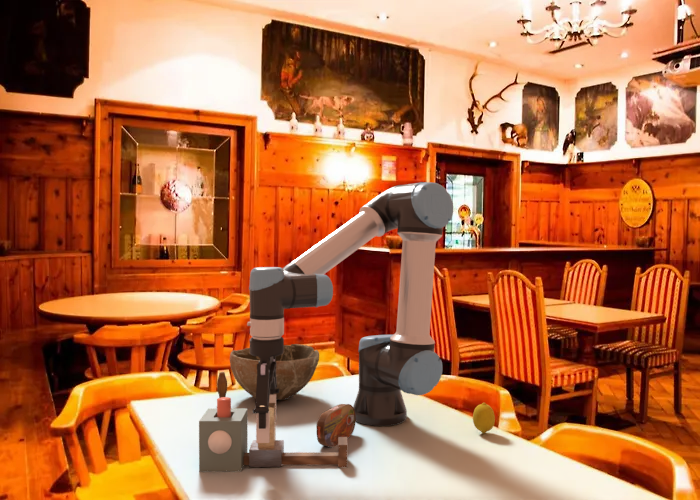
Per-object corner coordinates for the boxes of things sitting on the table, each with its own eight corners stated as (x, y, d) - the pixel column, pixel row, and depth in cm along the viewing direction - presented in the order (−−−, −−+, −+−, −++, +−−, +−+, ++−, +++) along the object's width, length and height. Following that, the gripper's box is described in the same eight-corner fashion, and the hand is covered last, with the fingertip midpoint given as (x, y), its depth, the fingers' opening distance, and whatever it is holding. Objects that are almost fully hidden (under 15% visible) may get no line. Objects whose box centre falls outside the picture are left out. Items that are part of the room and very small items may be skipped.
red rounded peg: (232, 432, 133) (232, 397, 133) (229, 436, 130) (229, 400, 130) (218, 432, 133) (218, 397, 133) (215, 436, 130) (215, 400, 130)
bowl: (329, 390, 193) (329, 344, 192) (305, 415, 166) (305, 362, 166) (250, 384, 199) (250, 340, 198) (215, 407, 173) (214, 357, 172)
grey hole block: (247, 455, 136) (247, 408, 136) (240, 472, 127) (240, 421, 126) (208, 455, 136) (208, 408, 136) (198, 472, 127) (198, 421, 126)
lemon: (496, 431, 153) (496, 401, 153) (492, 438, 148) (492, 407, 148) (475, 428, 155) (475, 398, 155) (470, 435, 150) (470, 404, 150)
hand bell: (231, 441, 146) (231, 377, 145) (200, 438, 147) (200, 375, 147) (244, 430, 154) (244, 369, 153) (214, 427, 155) (214, 367, 155)
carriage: (283, 456, 135) (283, 401, 134) (281, 467, 129) (281, 409, 128) (253, 456, 135) (253, 401, 134) (249, 467, 129) (249, 409, 128)
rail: (346, 458, 135) (347, 437, 134) (347, 467, 130) (347, 444, 129) (246, 458, 134) (246, 437, 134) (242, 467, 129) (242, 445, 129)
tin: (324, 452, 139) (325, 416, 139) (313, 449, 140) (313, 414, 140) (356, 433, 152) (357, 400, 151) (346, 431, 153) (346, 399, 153)
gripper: (257, 327, 143) (257, 414, 144) (240, 347, 118) (240, 452, 119) (288, 327, 143) (288, 414, 144) (277, 347, 119) (277, 452, 119)
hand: (266, 431), depth 132 cm, fingers open, 13 cm apart
